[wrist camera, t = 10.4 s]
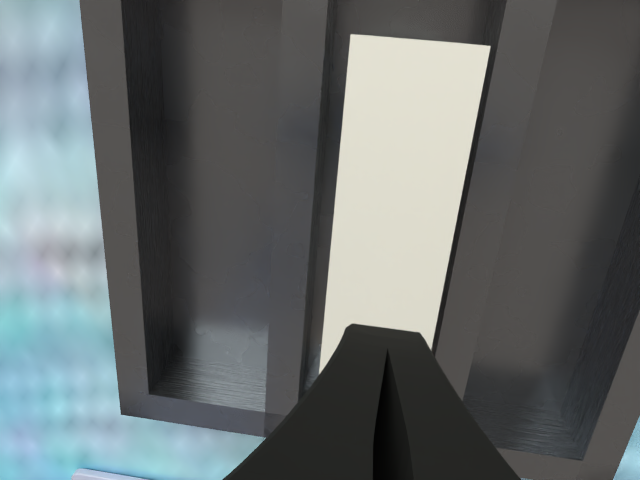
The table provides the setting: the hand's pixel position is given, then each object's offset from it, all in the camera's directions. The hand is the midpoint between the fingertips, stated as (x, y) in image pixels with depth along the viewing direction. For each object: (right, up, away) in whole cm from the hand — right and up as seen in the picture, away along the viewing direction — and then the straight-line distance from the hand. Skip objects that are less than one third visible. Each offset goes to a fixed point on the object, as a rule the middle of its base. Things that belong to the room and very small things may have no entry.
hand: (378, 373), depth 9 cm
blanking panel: (+1, +3, +9) cm, 9 cm away
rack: (+1, +4, +9) cm, 10 cm away
